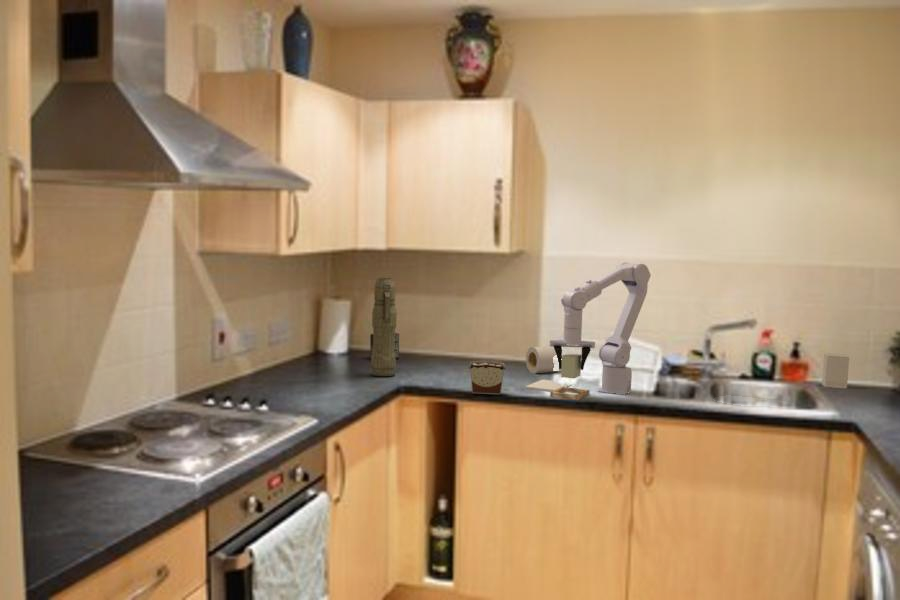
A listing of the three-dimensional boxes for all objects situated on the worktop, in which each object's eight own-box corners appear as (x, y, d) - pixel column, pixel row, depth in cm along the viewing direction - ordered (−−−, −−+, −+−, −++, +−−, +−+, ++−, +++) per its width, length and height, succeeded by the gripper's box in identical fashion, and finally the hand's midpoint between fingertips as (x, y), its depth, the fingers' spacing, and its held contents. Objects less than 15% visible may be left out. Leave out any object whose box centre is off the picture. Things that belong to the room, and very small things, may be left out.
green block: (580, 375, 258) (581, 354, 258) (574, 378, 253) (575, 357, 252) (567, 374, 260) (568, 353, 260) (561, 377, 255) (561, 355, 255)
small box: (390, 356, 325) (390, 331, 324) (399, 358, 320) (400, 333, 319) (369, 358, 319) (369, 333, 318) (378, 361, 314) (378, 335, 313)
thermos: (376, 377, 279) (378, 279, 276) (367, 371, 290) (368, 277, 287) (400, 376, 282) (402, 279, 279) (389, 370, 293) (391, 277, 290)
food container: (505, 390, 262) (506, 361, 261) (505, 394, 256) (506, 364, 255) (468, 389, 263) (469, 359, 262) (467, 392, 257) (468, 362, 256)
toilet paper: (547, 369, 305) (548, 344, 304) (561, 374, 296) (562, 348, 295) (525, 371, 300) (526, 345, 300) (538, 375, 291) (539, 349, 291)
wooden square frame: (589, 394, 260) (589, 390, 260) (578, 400, 250) (578, 395, 250) (562, 390, 264) (562, 386, 264) (550, 396, 255) (550, 392, 255)
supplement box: (847, 392, 276) (849, 357, 274) (823, 390, 278) (826, 355, 277) (843, 388, 282) (846, 354, 281) (821, 386, 285) (823, 352, 284)
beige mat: (571, 385, 274) (571, 383, 274) (555, 392, 261) (555, 390, 261) (542, 381, 280) (542, 379, 280) (525, 388, 267) (525, 386, 266)
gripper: (593, 327, 259) (592, 367, 260) (549, 325, 260) (548, 366, 261) (596, 329, 252) (594, 371, 253) (550, 328, 253) (549, 369, 254)
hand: (571, 369), depth 257 cm, fingers closed on green block, 6 cm apart
